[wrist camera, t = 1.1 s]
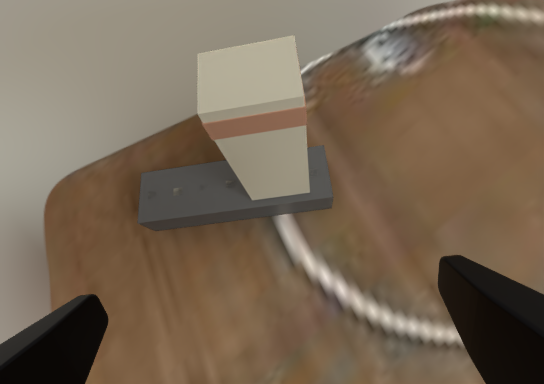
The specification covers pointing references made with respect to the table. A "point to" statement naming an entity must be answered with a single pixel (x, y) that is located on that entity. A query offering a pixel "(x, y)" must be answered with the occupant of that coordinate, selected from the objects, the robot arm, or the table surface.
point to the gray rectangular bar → (222, 195)
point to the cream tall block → (257, 114)
